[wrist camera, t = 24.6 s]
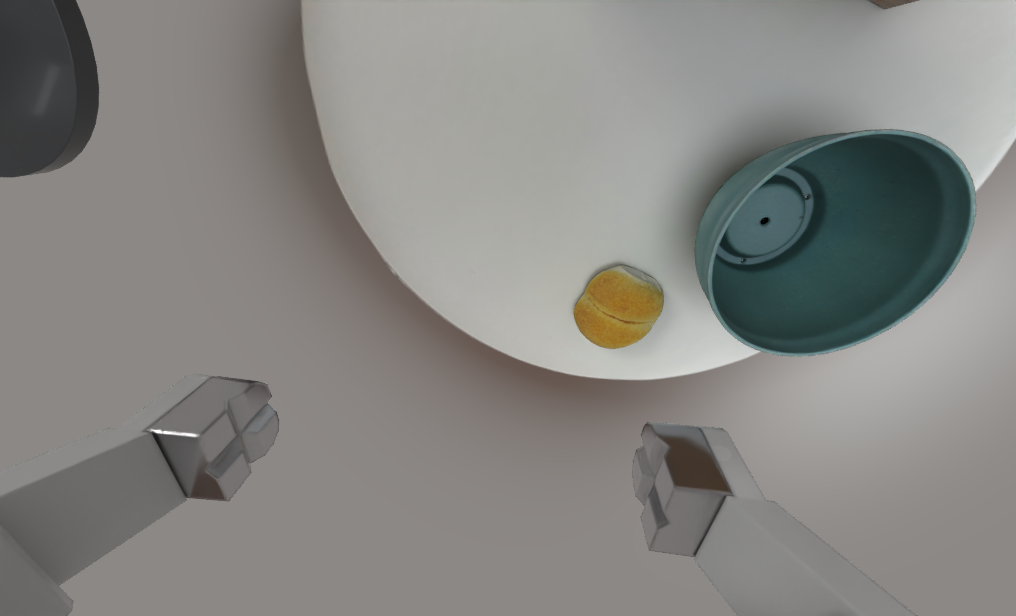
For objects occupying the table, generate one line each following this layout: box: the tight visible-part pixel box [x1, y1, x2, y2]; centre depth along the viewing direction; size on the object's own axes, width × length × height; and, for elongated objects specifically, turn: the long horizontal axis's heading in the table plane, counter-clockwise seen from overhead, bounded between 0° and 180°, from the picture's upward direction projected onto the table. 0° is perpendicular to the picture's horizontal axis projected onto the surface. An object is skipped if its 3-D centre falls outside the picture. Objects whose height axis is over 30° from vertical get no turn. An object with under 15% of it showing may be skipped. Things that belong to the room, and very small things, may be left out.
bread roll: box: [574, 265, 664, 349], centre depth 39 cm, size 8×9×4 cm
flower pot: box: [695, 129, 976, 357], centre depth 31 cm, size 16×16×11 cm
